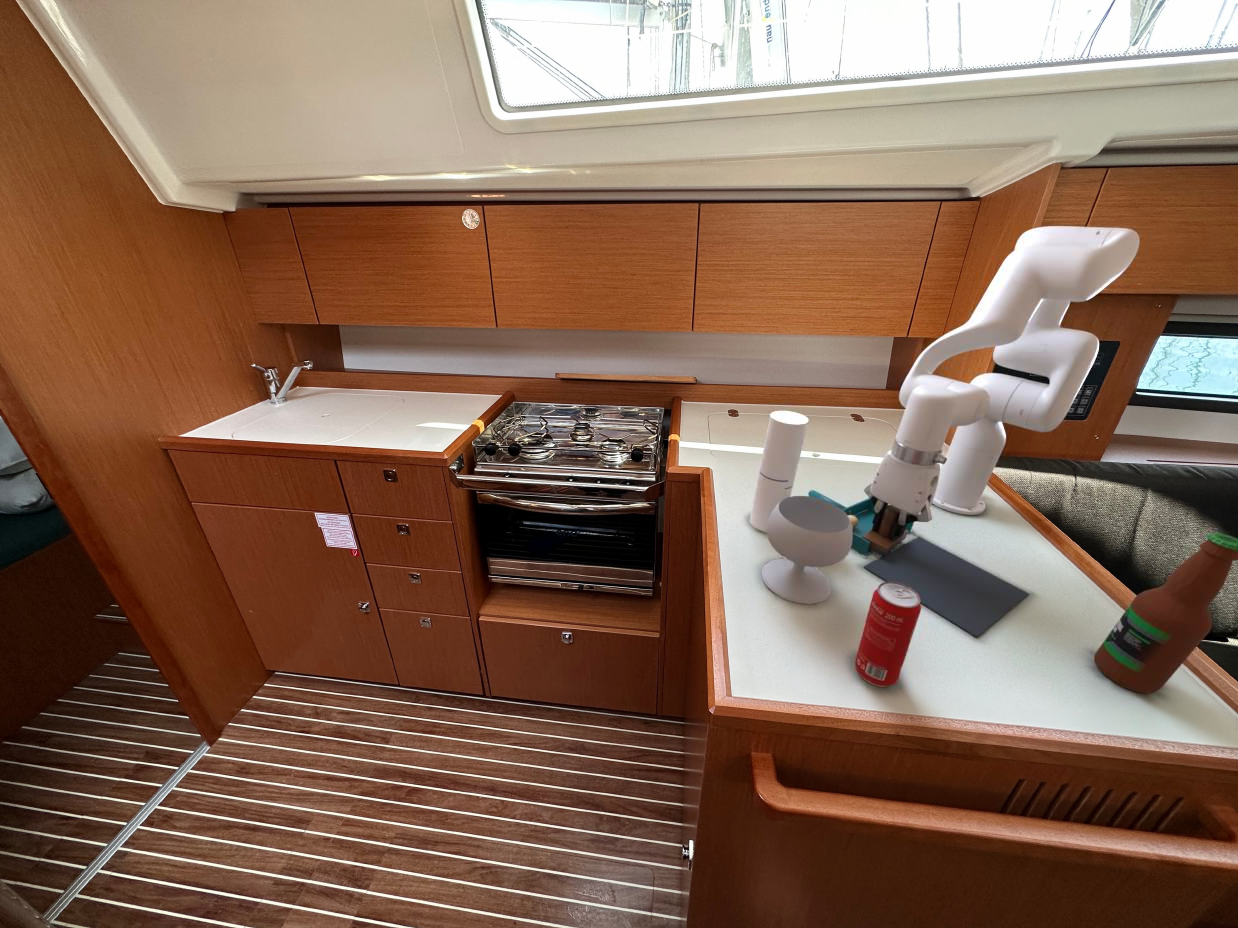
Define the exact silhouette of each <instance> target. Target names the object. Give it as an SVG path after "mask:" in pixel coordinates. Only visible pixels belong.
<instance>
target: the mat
mask: <svg viewBox="0 0 1238 928" xmlns="http://www.w3.org/2000/svg"><path fill="white" fill-rule="evenodd" d="M862 567H863V569H864V570H867V571H868V572H869V573H871V574H872V575H874V576H876V577H878V578H879V579H881V580H882V581H883V582H897V583H901V584H904V585H906V586H908V587H910V588H912V589H913V590H914V591H915V592H916V593H917V594H918V595H919V597H920V604H921V605H922V606H924V607H926V608H927V609H929V610H931V611H933V612H934V613H935V614H936V615H938V616H940V617H942V618H943V619H945V620H947V621H948V622H950V623H951V624H953V625H955V626H957V627H958V628H960V629H961V630H963V631H965V632H966V633H968V634H969V635H971V636H973V637H974V638H976V639H977V638H978V637H980V636H981V635H982V634H983V633H984V632H985V631H987V630H988V629H989V628H990V627H992V626H993V625H994V624H995V623H996V622H998V621H999V620H1000V619H1001V618H1002V617H1003V616H1005V615H1006V614H1007V613H1009V611H1011V610H1013V609H1014V607H1016V606H1017V605H1018V604H1020V603H1021V602H1022V601H1023V600H1024V599H1025V598H1026V597H1028V596H1029V595H1030V593H1029V592H1028V591H1025V590H1023V589H1021V588H1019V587H1018V586H1015V585H1013V584H1012V583H1010V582H1008V581H1006V580H1004V579H1002V578H1000V577H999V576H996V575H994V574H993V573H990V572H989V571H986V570H985V569H983V568H981V567H979V566H977V565H975V564H973V563H972V562H969V561H967V560H965V559H964V558H962V557H960V556H958V555H956V554H954V553H952V552H950V551H948V550H946V549H944V548H942V547H940V546H939V545H936V544H934V543H932V542H931V541H930V540H929V541H928V540H927V539H925V538H923V537H921V536H917V537H915V538H913V539H912V540H910V541H907V542H906V543H904V544H903V545H900V546H899V547H897V548H894V549H893V550H892V551H891V552H890V553H888V554H887V555H886V556H885V557H882V556H880V557H878V558H877V559H875V560H872V561H870V563H868V564H865V565H864V566H862Z"/></svg>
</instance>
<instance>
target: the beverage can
mask: <svg viewBox="0 0 1238 928" xmlns="http://www.w3.org/2000/svg"><path fill="white" fill-rule="evenodd" d="M921 611H922V604H921V603H920V597H919V595H918V594H917V593H916V592H915V591H914V590H913V589H912V588H910V587H908V586H906V585H904V584H901V583H897V582H886V581H883V582H882V583H881V582H880V584H879V585H878V586H877V588H876V589H875V590H874V591H873V593H872V596H871V601H870V604H869V608H868V611H867V615H866V619H865V623H864V626H863V630H862V633H861V636H860V641H859V645H858V648H857V653H856V656H855V659H854V667H855V670H856V671H857V673H858V675H859V676H860V677H861V678H862V679H863V680H864V681H866V682H867V683H869V684H871V685H874V686H876V687H881V688H887V687H892V686H893V685H895V684H896V683H897V682H898V681H899V678H900V675H901V672H902V669H903V666H904V663H905V659H906V658H907V653H908V650H909V648H910V645H911V641H912V639H913V635H914V632H915V629H916V626H917V624H918V621H919V617H920V615H921Z"/></svg>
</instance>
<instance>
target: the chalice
mask: <svg viewBox="0 0 1238 928" xmlns="http://www.w3.org/2000/svg"><path fill="white" fill-rule="evenodd" d="M765 533H766V536H767V537H766V538H767V540H768V542H769V544H770V545H771V547H772V549H774V551H776V552H777V554H779V555H780V556H782V557H783V558H777V559H773V560H772V559H771V560H769V561H768V562H766V563H765V564H764V565H763V567H762V569H761V578H762V580H763V582H764V584H765V585H766V586H767V588H769V589H770V590H771V591H772V592H773V593H774V594H776V595H778V596H779V597H781V598H783V599H786V600H787V601H791V602H795V603H800V604H818V603H821V602H823V601H825V600H826V599H828V598H829V596H830V595H831V590H832V587H831V583H830V581H829V580H828V578H827V577H826V576H825V575H824V573H822V572H821V571H820V570H819V569H817V568H827V567H831V566H834V565H837V564H839V563H841V562H842V561H843V560H844V559H845V558H846V557H848V555H849V553H850V551H851V549H852V548H851V546H852V539H853V534H852V525H851V522H850V519H849V517H848V516H847V514H846V513H845V512H844V511H843V510H842V509H840V508H839V507H838V506H836V505H834V504H832V503H830V502H827V501H825V500H822V499H819V498H814V497H809V496H807V495H794V496H792V495H791V497H788V498H785V499H783V500H782V501H781V502H779V503H778V504H777V505H776V507H775V508H774V510H773V511H772V513H771V514H770V516H769V519H768V521H767V527H766V532H765Z"/></svg>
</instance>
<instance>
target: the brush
mask: <svg viewBox="0 0 1238 928" xmlns="http://www.w3.org/2000/svg"><path fill="white" fill-rule="evenodd" d="M900 512H901V509H899V508H897V507H895V506H893V505H890V504H889V505H887V506H886V508H885V511H884V513H883V516H882V519H881V522H880V525H879V528H878V530H875V531H874V530H872V529H871V530H870V531H869V532H867V533H866V534H865V535H864V536H862V538H864V539H865V540H867V541H869V542H870V545H869V548H868V550H870V551H872V553H875V554H876V555H878V556H880V557H885V556H886V555H887V554H888V553H890V552H891V551H893V550H895V549H896V547H898V546H899V545H900V544H902V542H904V541H905V540H906V538H907V535H908V534H909V533H908V530H907V529H905V532H904V534H903V536H902V537H898V538H896V539H894V540H891V539H890V538H889V536H890V534H891V531H892V528H893V526H894V523H895V522H897V521H898V520H899V516H900ZM907 533H908V534H907Z"/></svg>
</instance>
